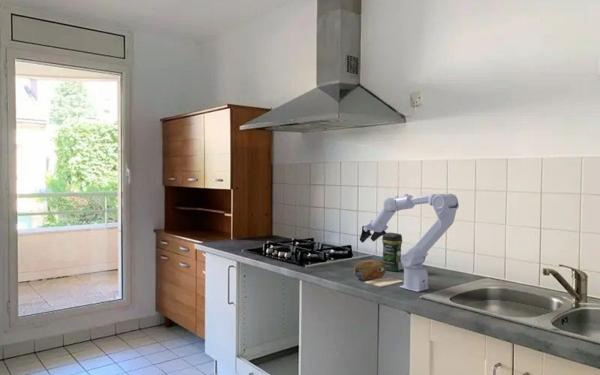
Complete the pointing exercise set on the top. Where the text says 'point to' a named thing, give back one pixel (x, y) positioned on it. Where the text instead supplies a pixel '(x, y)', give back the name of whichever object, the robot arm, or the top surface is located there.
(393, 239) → the coffee jar
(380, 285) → the birch board
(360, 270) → the orange-brown flat oval
